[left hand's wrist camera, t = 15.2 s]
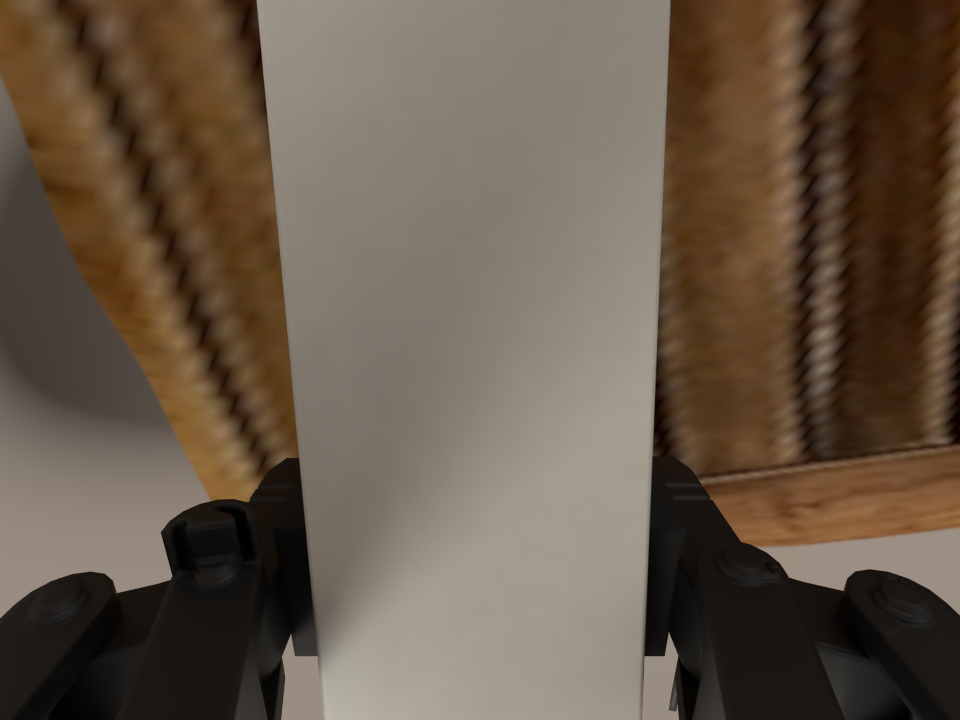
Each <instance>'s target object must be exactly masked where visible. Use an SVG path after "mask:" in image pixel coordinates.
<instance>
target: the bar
mask: <svg viewBox="0 0 960 720" xmlns="http://www.w3.org/2000/svg"><path fill="white" fill-rule="evenodd" d="M670 3H671V0H257V8H258V18H259V29H260V40H261V51H262V62H263V72H264V83H265V94H266V105H267V115H268V126H269V137H270V148H271V159H272V169H273V180H274V191H275V202H276V212H277V223H278V234H279V245H280V256H281V266H282V277H283V288H284V299H285V310H286V320H287V331H288V342H289V353H290V363H291V374H292V385H293V396H294V407H295V417H296V428H297V439H298V450H299V461H300V471H301V482H302V493H303V504H304V514H305V525H306V536H307V547H308V558H309V568H310V579H311V590H312V601H313V611H314V622H315V633H316V644H317V655H318V665H319V676H320V687H321V698H322V708H323V719H324V720H642V704H643V679H644V654H645V629H646V604H647V579H648V554H649V529H650V504H651V478H652V453H653V428H654V403H655V378H656V353H657V328H658V303H659V278H660V253H661V228H662V203H663V178H664V153H665V128H666V103H667V78H668V53H669V28H670Z"/></svg>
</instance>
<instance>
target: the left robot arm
mask: <svg viewBox="0 0 960 720" xmlns="http://www.w3.org/2000/svg"><path fill="white" fill-rule="evenodd" d="M701 485H702V484H701V483H700V481H699V480H698V479H697V477H696V476H695V474H694V473H693V471H692V470H691V469H690V468H689V467H687V466H686V465H684V464H683V463H681V462H680V461H679V460H677V459H676V458H674V457H652V478H651V504H650V529H649V554H648V579H647V604H646V629H645V654H644V656H665V650H666V645H667V639H668V633H670V636H671V638H672V641H673V643H674V646H675V648H676V651H677V653H678V661H677V667H676V672H675V677H674V683H673V688H672V694H671V700H670V706H669V710H671V711H676V708H677V703H678V713H679V720H960V615H959V614H958V613H957V612H956V611H954V610H953V609H952V608H951V607H950V606H949V605H948V604H947V603H946V602H945V601H943V600H942V599H941V598H940V597H938V596H937V595H936V594H934V593H933V592H932V591H930V590H929V589H927V588H925V587H923V586H921V585H920V584H918V583H916V582H914V581H912V580H910V579H908V578H905V577H902V576H899V575H896V574H893V573H890V572H885V571H878V570H870V569H869V570H862V571H856V572H854V573H853V574H852V575H851V576H850V577H848V579H847V581H846V584H845V588H844V591H841V590H836V589H832V588H827V587H823V586H819V585H814V584H810V583H806V582H801V581H798V580H795V579H792V578H789V577H788V575H787V574H786V572H785V571H784V569H783V568H782V566H781V565H780V563H779V562H777V561H776V560H775V559H774V558H773V557H771V556H770V555H769V554H767V553H766V552H764V551H762V550H760V549H758V548H756V547H754V546H752V545H750V544H746V543H743V542H741V541H740V540H739V538H738V537H737V535H736V534H735V533H734V531H733V530H732V528H731V527H730V525H729V524H728V522H727V521H726V519H725V518H724V517H723V515H722V514H721V512H720V511H719V509H718V508H717V506H716V505H715V503H714V502H713V500H710V496H709V495H708V493H707V492H706V490H705V489H704V487H702V486H701ZM161 535H162V538H163V542H164V546H165V550H166V553H167V557H168V561H169V565H170V568H171V572H172V578H171V580H169V581H166V582H162V583H159V584H155V585H151V586H146V587H142V588H138V589H134V590H129V591H125V592H120V593H117V592H116V589H115V586H114V583H113V580H111V579H110V578H109V577H108V576H107V575H106V574H102V573H96V572H85V573H77V574H71V575H68V576H65V577H62V578H59V579H57V580H54V581H51V582H49V583H47V584H45V585H43V586H41V587H40V588H38V589H36V590H34V591H32V592H30V593H29V594H28V595H27V596H25V597H24V598H23V599H21V600H20V601H19V602H18V603H16V604H15V605H14V606H13V607H12V608H11V609H10V610H9V611H7V612H6V614H4V615H3V616H2V617H1V618H0V720H281V714H282V704H283V694H284V685H285V674H284V667H283V661H282V655H283V652H284V650H285V647H286V645H287V642H288V640H289V637H290V635H292V641H293V647H294V653H295V656H318V655H317V644H316V633H315V622H314V611H313V601H312V590H311V579H310V568H309V558H308V547H307V536H306V525H305V514H304V504H303V493H302V482H301V471H300V461H299V458H286V459H285V460H283V461H282V462H281V463H279V464H278V465H276V466H275V467H274V468H272V469H271V470H269V471H268V473H267V474H266V476H265V477H264V479H263V480H262V482H261V483H260V485H259V486H258V489H256V490H255V492H254V493H253V495H252V496H251V498H250V502H243V501H239V500H235V499H224V500H215V501H210V502H206V503H202V504H199V505H197V506H194V507H192V508H190V509H188V510H185V511H183V512H182V513H180V514H179V515H178V516H176V517H175V518H173V519H172V520H171V521H169V523H168V524H167V525H166V526H165V528H164V529H163V530H162V532H161Z"/></svg>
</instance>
